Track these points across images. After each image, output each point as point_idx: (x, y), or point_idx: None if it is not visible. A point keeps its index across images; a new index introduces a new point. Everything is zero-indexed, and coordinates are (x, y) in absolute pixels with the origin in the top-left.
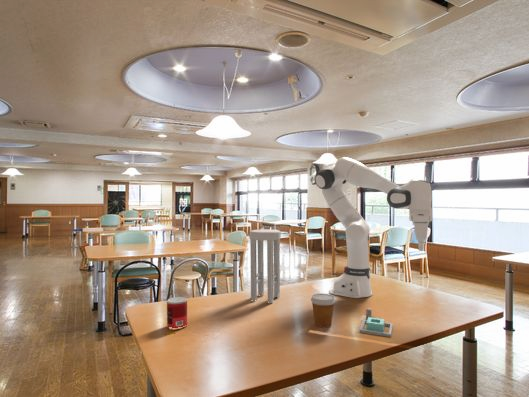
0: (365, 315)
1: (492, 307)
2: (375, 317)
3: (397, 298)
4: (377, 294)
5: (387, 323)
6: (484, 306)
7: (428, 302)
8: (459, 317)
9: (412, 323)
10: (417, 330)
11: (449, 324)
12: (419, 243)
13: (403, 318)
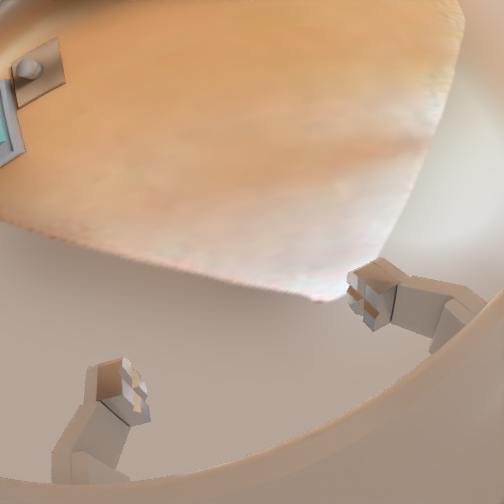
0: (57, 47)
1: None
2: (56, 77)
3: (324, 65)
4: (329, 9)
5: (12, 142)
6: None
7: (332, 154)
8: (241, 254)
9: (98, 172)
10: (58, 204)
11: (164, 251)
12: (64, 449)
13: (123, 133)
